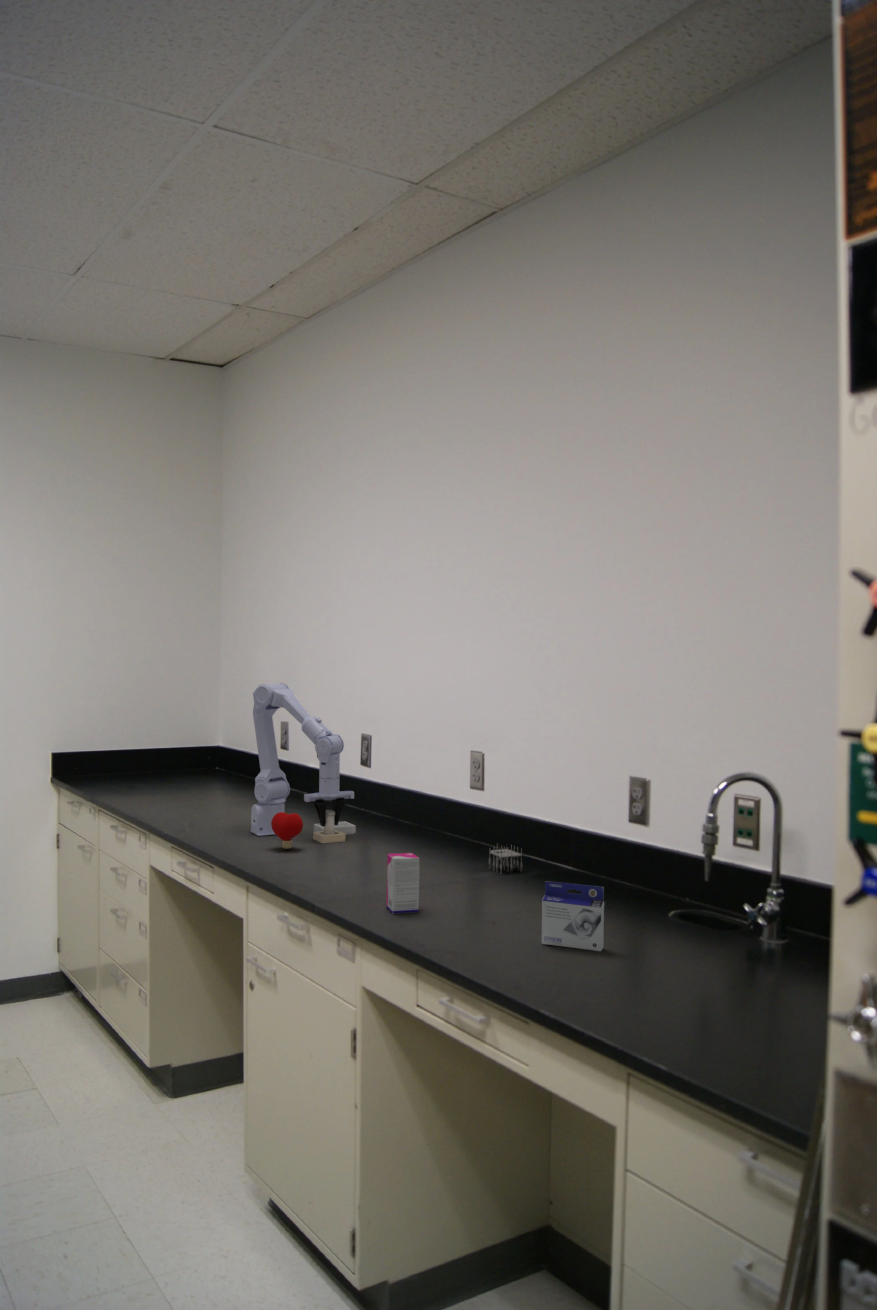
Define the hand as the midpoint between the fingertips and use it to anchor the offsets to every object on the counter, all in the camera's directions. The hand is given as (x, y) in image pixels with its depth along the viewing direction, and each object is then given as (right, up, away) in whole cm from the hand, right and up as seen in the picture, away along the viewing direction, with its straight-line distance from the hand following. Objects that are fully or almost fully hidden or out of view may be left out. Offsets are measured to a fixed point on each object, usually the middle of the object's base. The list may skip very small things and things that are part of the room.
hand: (329, 825), depth 277 cm
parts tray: (+1, -4, +10) cm, 11 cm away
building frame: (+47, -5, -36) cm, 60 cm away
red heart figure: (-10, -5, -13) cm, 17 cm away
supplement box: (+24, -5, -72) cm, 76 cm away
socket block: (0, -4, 0) cm, 4 cm away
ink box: (+56, -6, -97) cm, 112 cm away
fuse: (0, -3, 0) cm, 3 cm away
